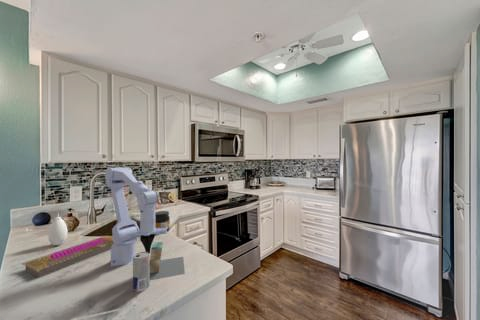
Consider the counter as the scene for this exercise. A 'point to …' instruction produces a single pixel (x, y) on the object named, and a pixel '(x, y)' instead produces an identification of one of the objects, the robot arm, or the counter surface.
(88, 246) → the brown long flat block
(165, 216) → the supplement container
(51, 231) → the white egg candle
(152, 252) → the oak block
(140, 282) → the energy drink
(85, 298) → the counter surface
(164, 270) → the rubber mat
